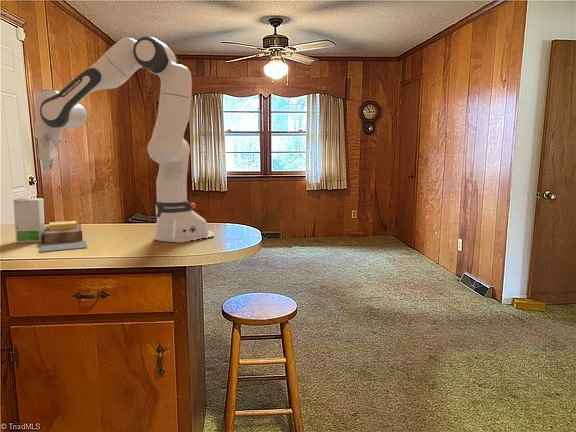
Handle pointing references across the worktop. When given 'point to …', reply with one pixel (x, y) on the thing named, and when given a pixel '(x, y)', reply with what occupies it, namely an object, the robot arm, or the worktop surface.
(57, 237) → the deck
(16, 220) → the skincare box
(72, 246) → the mat
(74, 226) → the yellow rectangular block
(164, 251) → the worktop surface
